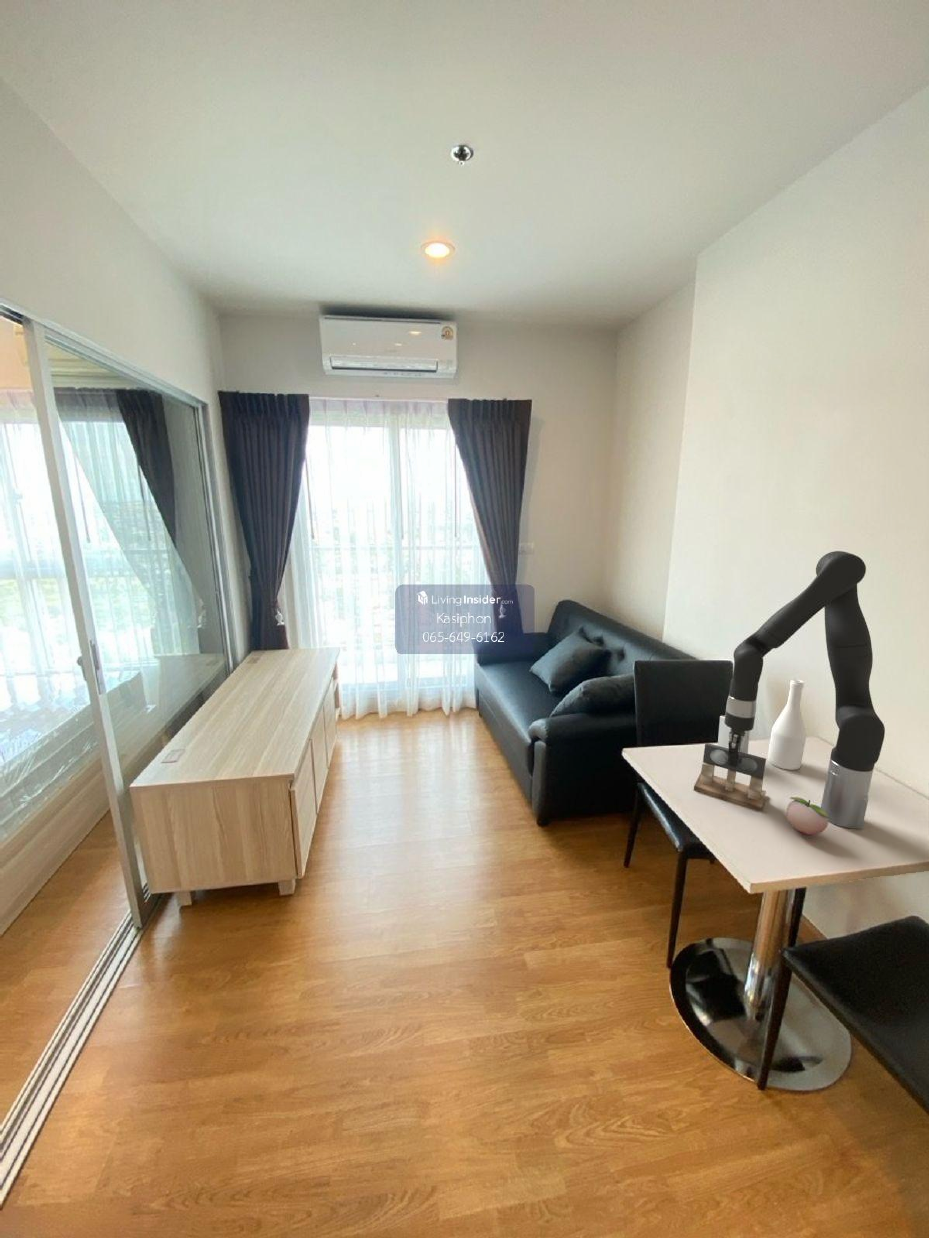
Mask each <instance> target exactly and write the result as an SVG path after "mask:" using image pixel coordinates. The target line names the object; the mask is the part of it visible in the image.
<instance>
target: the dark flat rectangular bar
mask: <svg viewBox="0 0 929 1238" xmlns="http://www.w3.org/2000/svg"><path fill="white" fill-rule="evenodd" d="M728 751H729V749H728V748H724V747H720V746H718V744H717V745H716V744H712V743H709V742H706V743H705V744H704V751H703V758H702V763H703V762H704V763H708V764H711V765H715V767H719V768H722V769H725V770H728V769H729V770H732V771H736V773H740V774H743V775H747V776H750V777H751V776H753V777H756V778H760V779H763V780H764V778H763V776H765V769H766V762H767V758H765V757H761V756H758V755H754V754H750V753H748V754H747V753H743V752H739V756H738V762H737V767H732V766H729V765H728V763H729V756H730V755H728Z"/></svg>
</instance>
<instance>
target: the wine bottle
mask: <svg viewBox="0 0 929 1238" xmlns="http://www.w3.org/2000/svg"><path fill="white" fill-rule="evenodd" d="M789 683H790V684H789V693H788V698H787V703H786V705H785V706H784V708H783V709H782V711H781V713H780V715H779V716H778V718H777V719H776V720H775V722H774V724H773V725H772V727H771V728H772V729H771V735H770V740H769V746H768V752H767V760H768V762H769V763H770V764H771V765H773V766H775V767H777V768H780V769H783V770H789V771H795V770H798V769H800V767H801V766H802V763H803V757H804V751H805V746H806V742H807V741H806V740H807V733H806V727H805V724H804V718H803V715H802V709H801V702H802V701H801V700H802V694H803V693H802V691H803V689H804V687H805V683H804V681H803V680H801V679H796V678H793V679H791V681H790V682H789Z"/></svg>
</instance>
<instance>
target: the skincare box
mask: <svg viewBox="0 0 929 1238" xmlns="http://www.w3.org/2000/svg"><path fill="white" fill-rule="evenodd" d="M724 721H725V715H720V716H719V725H718V737H717V738H718V740H717V746H720V747H724V748H728V749H729V746H728V743H729V732H730V730H731V728H730V727H728V726H726V724H725V723H724ZM745 732H746V736H745V738H744V743H743V746H742V749H741V751H740V752H743V753H747V754H749V753H748V752H749V743H750V742H749V741H750V740H749V739H750V734H751V733H750V732H751V730H750V731H745Z"/></svg>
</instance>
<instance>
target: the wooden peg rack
mask: <svg viewBox="0 0 929 1238" xmlns="http://www.w3.org/2000/svg"><path fill="white" fill-rule="evenodd" d="M715 767H716V766H715V765H711V764H708V763H704V762H703V761H702V763H701V771H700V773H699V775H698V777H697V779H696V781H695V783H694V786H693V791H695V792H698V793H702V794H705V795H708V796H711V797H714V798H718V799H720V800H724V801H727V802H729V803H732V804H735V805H737V806H742V807H744V808H748V809H751V810H755V811H757V812H760V813H762V810H763V806H764V802H765V798H766V794H767V791H766V790H764V789H763V784H764V776H765V775H764V776H763V779H760V778H756V777H753V776H750V779H749V785H746V784H743V783H740V782H737V781H736V778H737V777H736V776H737V772H736V771H732V770H729V769H727V773H726V778H723V777H720V776H716V775H715Z"/></svg>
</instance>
